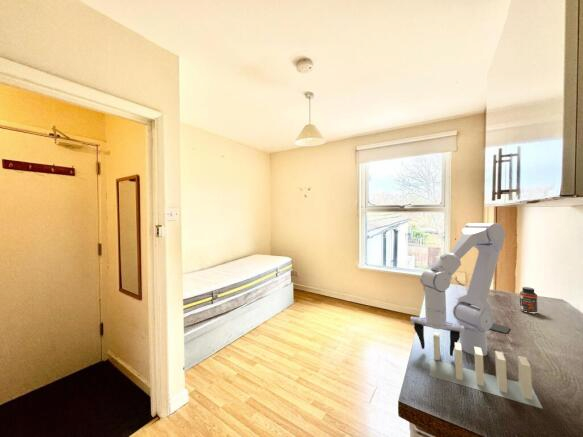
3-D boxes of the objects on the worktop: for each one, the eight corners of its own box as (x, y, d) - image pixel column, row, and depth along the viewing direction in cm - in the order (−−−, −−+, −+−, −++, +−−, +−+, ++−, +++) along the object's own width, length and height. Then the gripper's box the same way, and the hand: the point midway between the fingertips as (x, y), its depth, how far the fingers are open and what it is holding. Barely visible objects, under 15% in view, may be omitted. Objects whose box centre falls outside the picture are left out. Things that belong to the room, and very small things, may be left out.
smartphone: (507, 333, 91) (461, 321, 102) (507, 336, 91) (461, 323, 102) (510, 327, 95) (466, 316, 107) (510, 330, 95) (466, 318, 107)
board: (431, 363, 74) (431, 359, 74) (531, 390, 61) (531, 385, 61) (429, 379, 66) (429, 375, 66) (543, 413, 54) (542, 408, 54)
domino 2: (475, 375, 66) (474, 346, 66) (482, 376, 65) (480, 347, 65) (476, 384, 62) (475, 353, 62) (484, 386, 62) (482, 355, 62)
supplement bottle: (521, 312, 111) (520, 288, 111) (518, 308, 116) (517, 285, 116) (539, 315, 107) (538, 290, 108) (535, 311, 112) (534, 287, 113)
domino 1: (455, 369, 68) (454, 342, 69) (462, 371, 68) (460, 343, 68) (456, 378, 65) (455, 349, 65) (462, 380, 64) (461, 350, 64)
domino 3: (496, 380, 64) (495, 350, 64) (503, 382, 63) (502, 352, 63) (499, 390, 60) (498, 358, 60) (507, 392, 59) (505, 360, 59)
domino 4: (519, 386, 61) (517, 355, 61) (527, 388, 60) (525, 357, 60) (523, 397, 57) (522, 364, 57) (532, 400, 57) (530, 366, 57)
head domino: (434, 356, 78) (434, 331, 78) (440, 357, 77) (439, 332, 77) (434, 362, 74) (433, 337, 74) (439, 364, 73) (438, 338, 73)
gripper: (408, 308, 76) (410, 350, 76) (464, 317, 68) (465, 364, 68) (411, 301, 82) (412, 340, 82) (462, 309, 74) (464, 352, 74)
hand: (436, 350), depth 76 cm, fingers open, 7 cm apart
